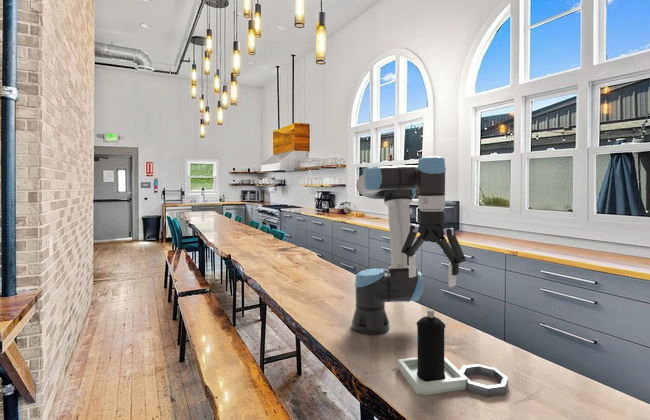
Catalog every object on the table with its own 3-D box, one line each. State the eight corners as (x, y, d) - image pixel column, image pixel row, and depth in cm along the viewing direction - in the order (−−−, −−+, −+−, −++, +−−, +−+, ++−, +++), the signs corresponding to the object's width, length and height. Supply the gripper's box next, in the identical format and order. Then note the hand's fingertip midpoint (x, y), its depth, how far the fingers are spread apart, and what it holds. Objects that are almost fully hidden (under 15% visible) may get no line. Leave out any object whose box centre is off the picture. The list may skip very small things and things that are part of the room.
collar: (451, 375, 109) (451, 367, 109) (488, 370, 111) (488, 362, 111) (475, 399, 97) (475, 390, 97) (516, 393, 99) (517, 384, 99)
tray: (397, 368, 114) (397, 359, 113) (441, 363, 116) (441, 354, 116) (418, 395, 99) (418, 385, 99) (468, 389, 102) (468, 378, 101)
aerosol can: (451, 377, 106) (451, 311, 105) (432, 386, 102) (432, 317, 100) (429, 365, 113) (429, 303, 112) (410, 373, 109) (410, 309, 107)
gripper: (390, 208, 113) (390, 275, 114) (464, 213, 93) (464, 293, 95) (405, 207, 117) (405, 271, 119) (479, 211, 98) (478, 287, 100)
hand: (431, 281), depth 107 cm, fingers open, 13 cm apart
